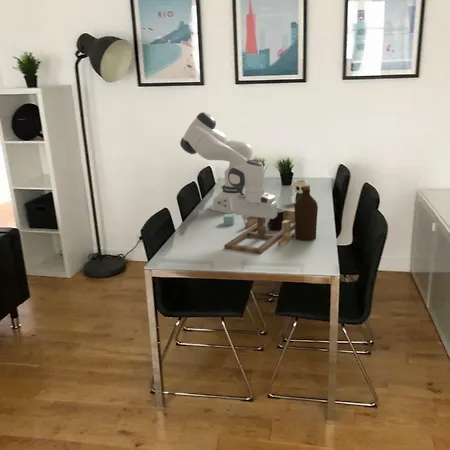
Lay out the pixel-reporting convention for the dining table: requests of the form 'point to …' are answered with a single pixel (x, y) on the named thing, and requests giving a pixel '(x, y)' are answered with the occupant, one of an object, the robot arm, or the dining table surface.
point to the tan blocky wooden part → (286, 233)
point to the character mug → (299, 187)
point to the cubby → (287, 216)
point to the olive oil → (306, 216)
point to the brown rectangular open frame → (255, 232)
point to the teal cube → (229, 219)
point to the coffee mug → (276, 221)
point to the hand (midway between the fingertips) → (255, 225)
